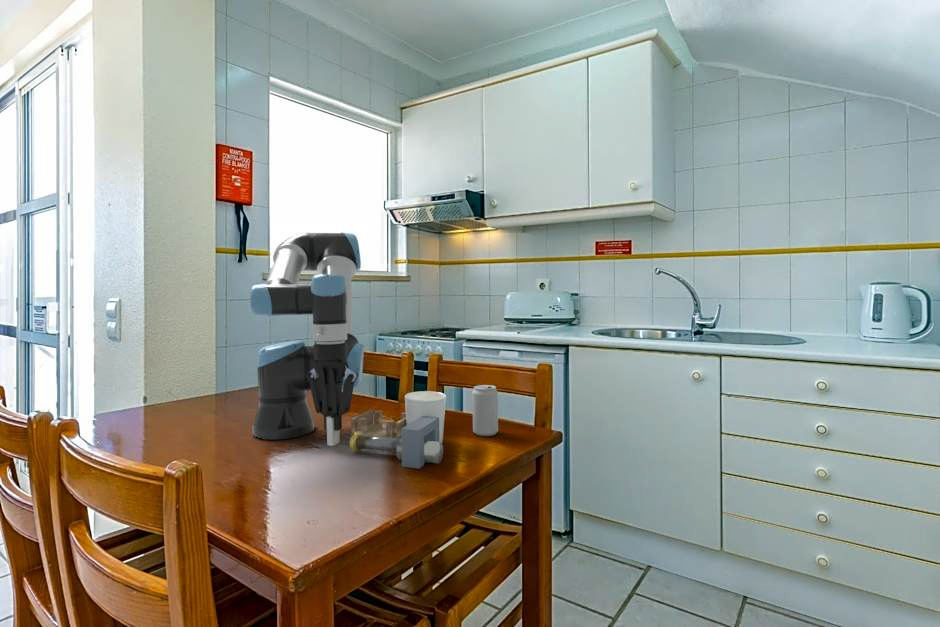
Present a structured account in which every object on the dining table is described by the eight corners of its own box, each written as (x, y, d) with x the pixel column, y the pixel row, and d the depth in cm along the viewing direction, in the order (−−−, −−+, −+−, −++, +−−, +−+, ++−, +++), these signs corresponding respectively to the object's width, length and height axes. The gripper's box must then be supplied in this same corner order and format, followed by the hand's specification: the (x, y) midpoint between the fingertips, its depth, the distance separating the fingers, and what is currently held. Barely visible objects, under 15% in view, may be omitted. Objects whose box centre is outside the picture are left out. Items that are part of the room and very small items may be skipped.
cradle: (349, 443, 125) (348, 419, 124) (370, 432, 134) (370, 409, 134) (400, 448, 120) (399, 423, 120) (418, 436, 130) (418, 412, 129)
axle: (398, 463, 112) (395, 446, 111) (407, 451, 116) (403, 434, 115) (436, 468, 110) (433, 450, 108) (444, 455, 113) (441, 437, 112)
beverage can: (496, 437, 128) (495, 389, 127) (470, 436, 129) (469, 388, 128) (499, 430, 134) (499, 384, 133) (475, 429, 135) (474, 383, 135)
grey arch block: (402, 466, 109) (401, 428, 108) (423, 450, 119) (422, 416, 118) (419, 468, 107) (418, 430, 107) (439, 452, 117) (439, 417, 117)
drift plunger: (349, 454, 116) (349, 434, 116) (360, 448, 121) (360, 428, 120) (393, 459, 113) (393, 438, 112) (403, 452, 117) (403, 432, 117)
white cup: (450, 441, 128) (451, 392, 127) (437, 453, 118) (438, 401, 117) (413, 437, 130) (413, 389, 130) (397, 449, 121) (398, 398, 120)
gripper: (296, 343, 118) (299, 446, 119) (345, 344, 113) (348, 451, 114) (316, 339, 125) (319, 436, 126) (363, 340, 120) (366, 441, 121)
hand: (333, 443), depth 120 cm, fingers closed
